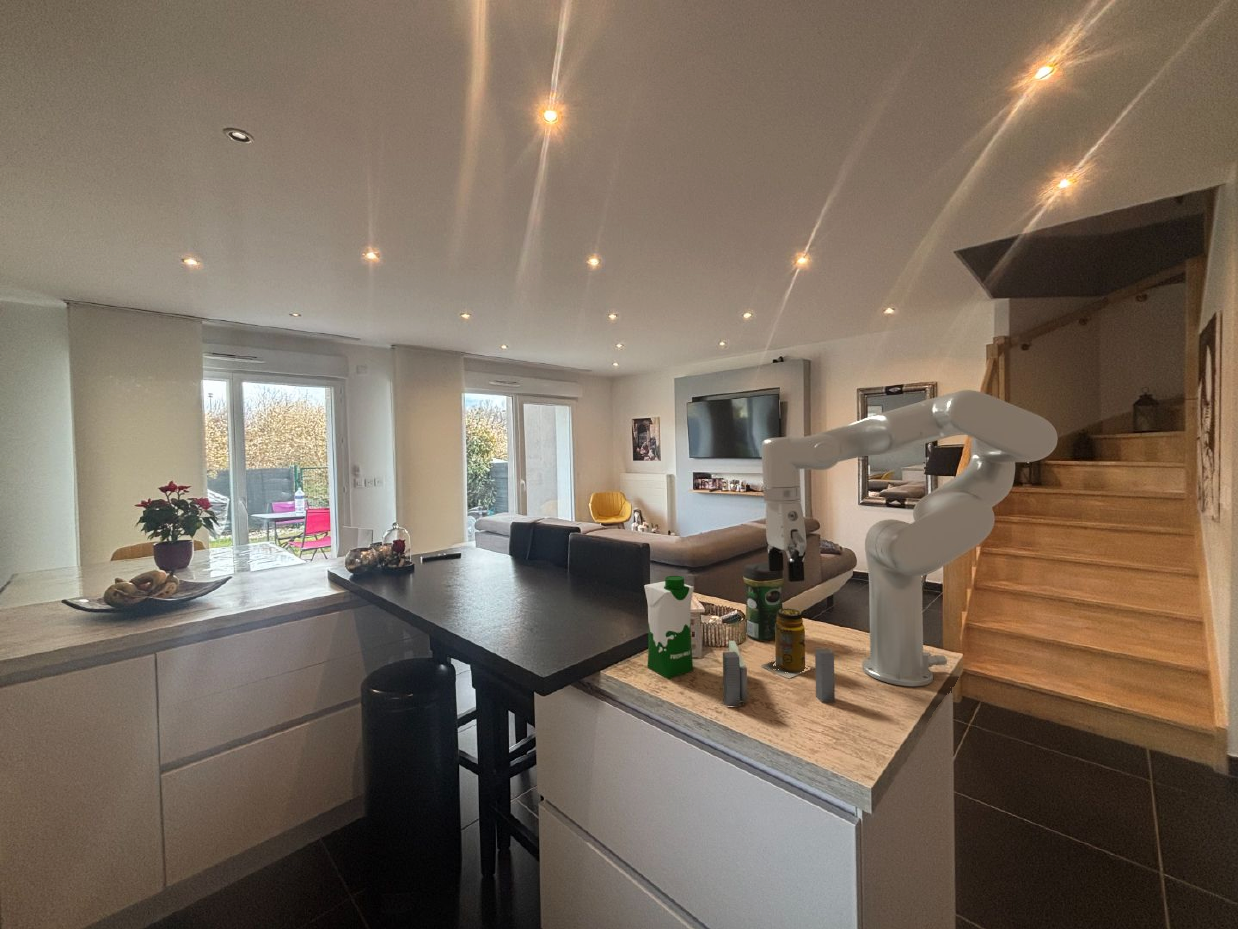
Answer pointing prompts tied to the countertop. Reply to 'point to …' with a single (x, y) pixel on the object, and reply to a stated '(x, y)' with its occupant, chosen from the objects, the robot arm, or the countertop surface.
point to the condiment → (789, 644)
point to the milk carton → (669, 626)
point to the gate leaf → (743, 672)
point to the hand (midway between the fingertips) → (785, 575)
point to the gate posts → (822, 669)
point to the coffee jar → (762, 600)
